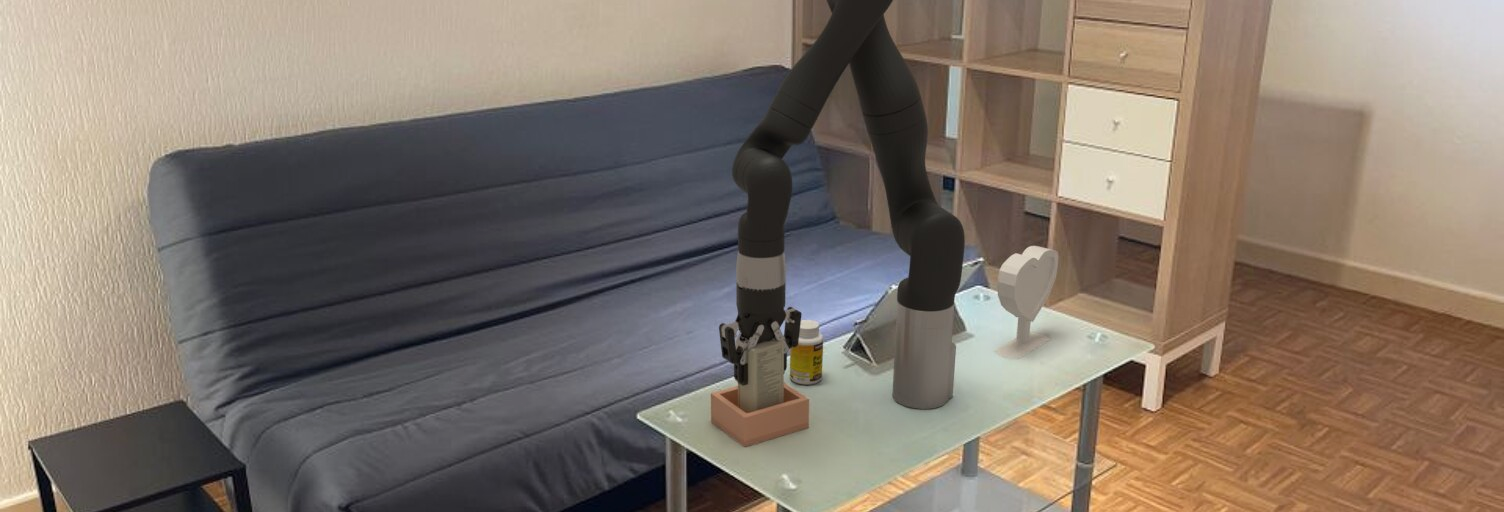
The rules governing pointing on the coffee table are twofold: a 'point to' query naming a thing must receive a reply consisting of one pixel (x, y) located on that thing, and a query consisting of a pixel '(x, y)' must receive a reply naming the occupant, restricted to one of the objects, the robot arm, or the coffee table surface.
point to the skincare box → (763, 377)
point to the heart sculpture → (1026, 294)
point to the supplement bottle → (807, 354)
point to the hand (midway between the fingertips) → (760, 378)
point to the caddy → (759, 416)
